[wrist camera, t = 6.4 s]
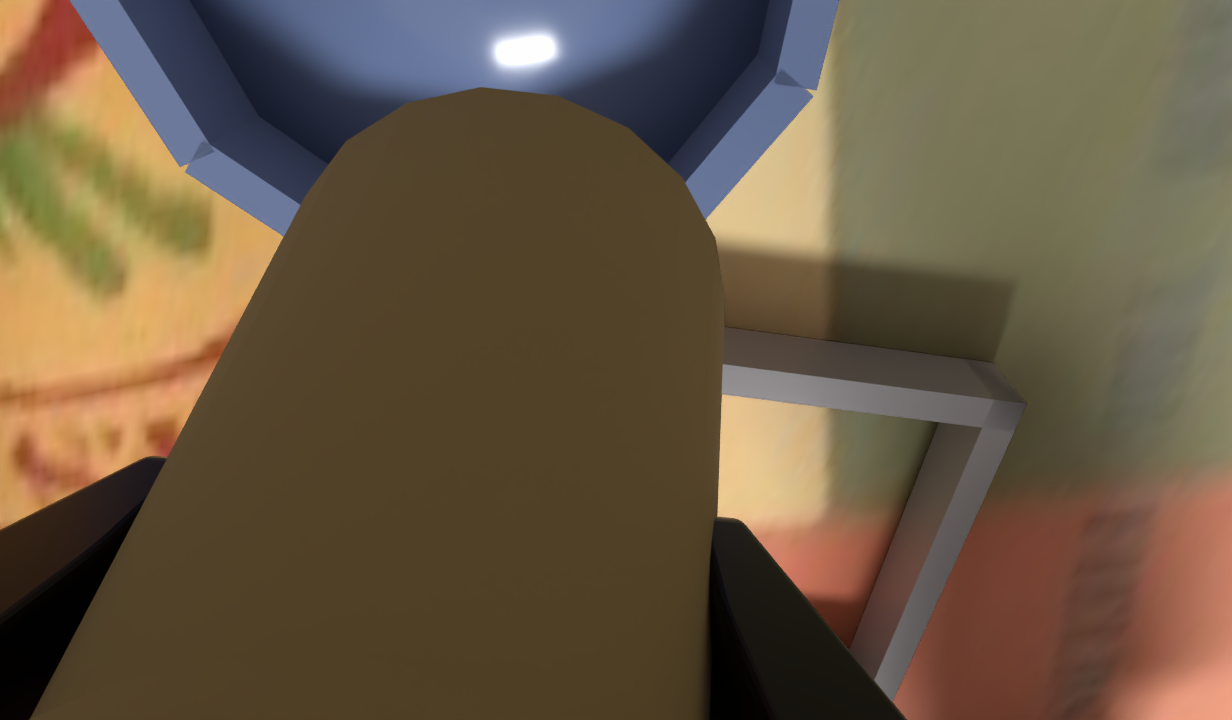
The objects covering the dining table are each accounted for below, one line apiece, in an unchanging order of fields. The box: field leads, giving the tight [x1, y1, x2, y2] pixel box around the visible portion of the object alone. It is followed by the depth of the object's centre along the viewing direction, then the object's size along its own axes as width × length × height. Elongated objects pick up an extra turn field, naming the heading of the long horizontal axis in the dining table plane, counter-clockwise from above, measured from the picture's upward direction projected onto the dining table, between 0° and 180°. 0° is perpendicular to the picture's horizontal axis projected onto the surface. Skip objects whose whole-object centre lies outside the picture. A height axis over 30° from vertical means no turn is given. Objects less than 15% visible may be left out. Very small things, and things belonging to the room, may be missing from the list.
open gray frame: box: [722, 327, 1027, 702], centre depth 23 cm, size 14×12×2 cm
